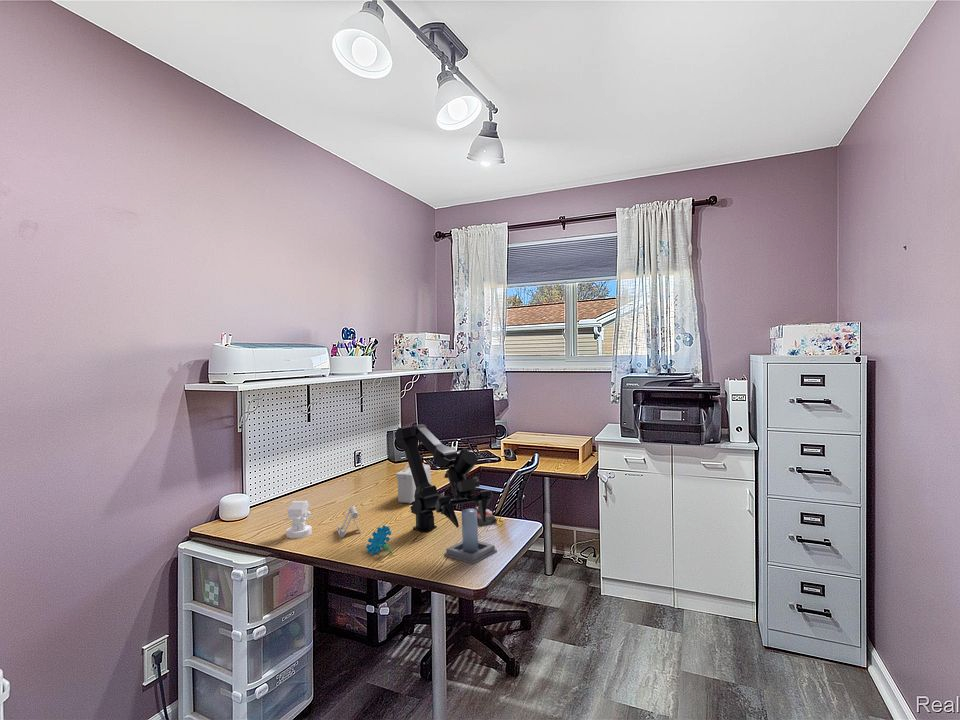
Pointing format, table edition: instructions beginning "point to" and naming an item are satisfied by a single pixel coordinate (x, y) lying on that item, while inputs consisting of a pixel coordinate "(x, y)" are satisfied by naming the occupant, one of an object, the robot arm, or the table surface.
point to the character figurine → (298, 519)
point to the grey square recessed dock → (459, 554)
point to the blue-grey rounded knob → (470, 530)
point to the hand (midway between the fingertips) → (471, 524)
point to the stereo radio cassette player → (408, 484)
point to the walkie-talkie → (489, 517)
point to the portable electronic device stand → (353, 515)
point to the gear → (379, 540)
